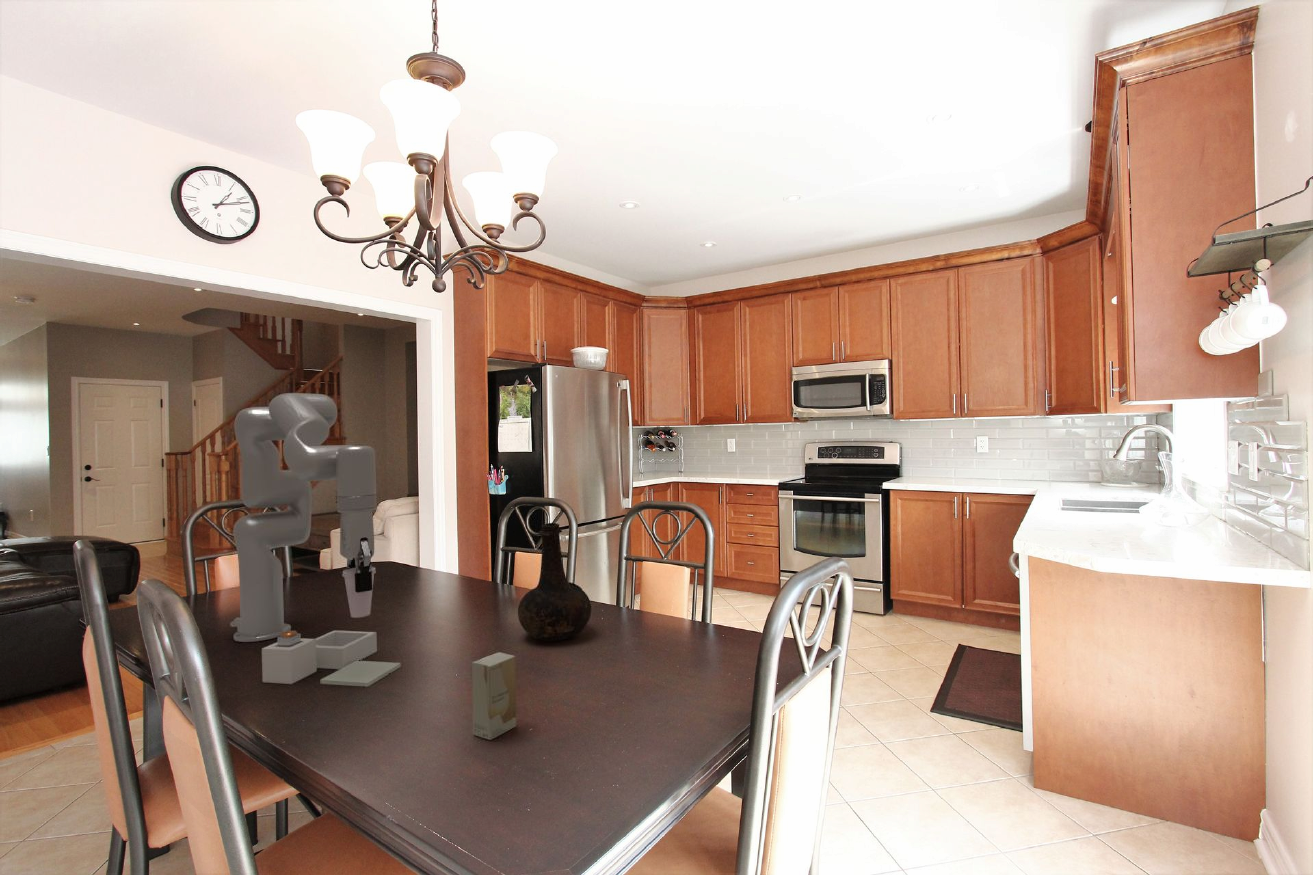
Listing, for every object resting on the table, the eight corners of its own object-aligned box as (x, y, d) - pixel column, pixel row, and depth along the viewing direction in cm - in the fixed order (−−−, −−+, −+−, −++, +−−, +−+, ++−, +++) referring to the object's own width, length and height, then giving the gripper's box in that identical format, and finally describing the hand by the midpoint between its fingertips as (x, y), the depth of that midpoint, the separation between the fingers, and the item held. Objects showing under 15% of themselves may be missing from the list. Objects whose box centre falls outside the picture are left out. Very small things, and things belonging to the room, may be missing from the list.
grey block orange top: (278, 665, 131) (277, 634, 131) (289, 660, 134) (288, 630, 134) (290, 666, 131) (289, 635, 131) (301, 661, 134) (300, 630, 134)
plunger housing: (262, 682, 130) (261, 648, 130) (288, 669, 137) (288, 637, 137) (291, 683, 128) (290, 650, 128) (316, 671, 135) (315, 638, 135)
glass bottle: (606, 633, 156) (603, 521, 156) (550, 653, 143) (547, 531, 143) (559, 620, 168) (556, 517, 168) (503, 638, 154) (500, 525, 154)
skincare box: (490, 741, 102) (488, 667, 102) (471, 735, 104) (469, 662, 104) (518, 725, 107) (516, 654, 107) (500, 719, 110) (498, 650, 110)
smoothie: (347, 621, 128) (345, 553, 128) (340, 614, 133) (338, 549, 133) (380, 615, 132) (378, 548, 132) (372, 609, 137) (370, 545, 137)
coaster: (320, 683, 128) (320, 679, 128) (356, 664, 139) (356, 660, 139) (367, 686, 126) (367, 682, 126) (400, 666, 137) (400, 662, 137)
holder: (298, 666, 138) (297, 646, 138) (334, 649, 149) (334, 630, 149) (343, 669, 136) (342, 648, 136) (376, 651, 147) (376, 632, 147)
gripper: (329, 502, 137) (331, 584, 137) (347, 508, 123) (349, 599, 123) (365, 499, 141) (368, 578, 141) (387, 505, 128) (389, 592, 128)
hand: (359, 587), depth 132 cm, fingers closed on smoothie, 6 cm apart
